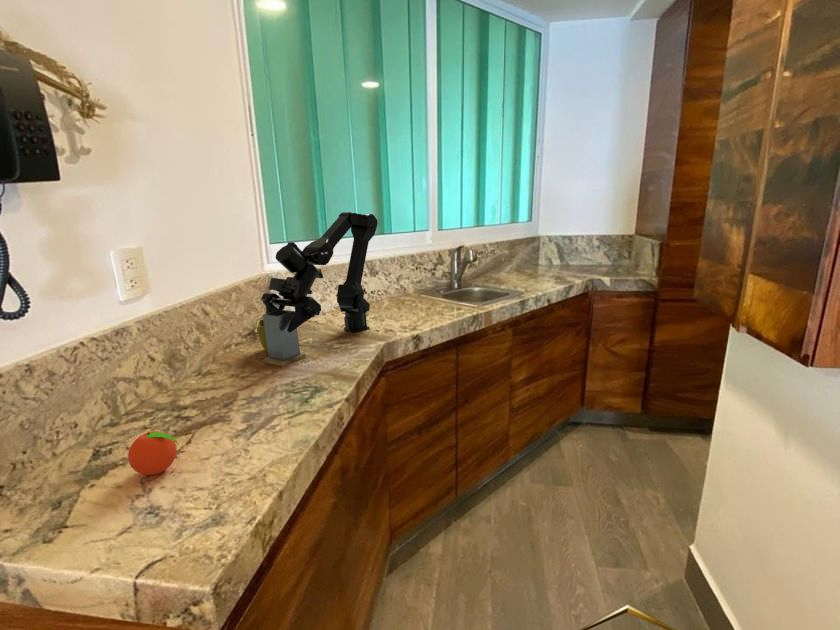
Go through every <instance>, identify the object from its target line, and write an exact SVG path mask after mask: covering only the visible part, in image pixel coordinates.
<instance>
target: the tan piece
mask: <svg viewBox="0 0 840 630" xmlns="http://www.w3.org/2000/svg"><path fill="white" fill-rule="evenodd" d="M306 357H307V355H306V353H304V352H300V355H298V356H295V357H293V358H291V359H288V360H286V361H280V360H275V359H271V358H269V356H268V357H265V358H263V363H265V364H270V365H275V366H279V367H283V368H284V367H286V366H289V365H291V364H293V363H295V362H298V361H300V360H302V359H305V358H306Z"/></svg>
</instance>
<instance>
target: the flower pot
mask: <svg viewBox="0 0 840 630" xmlns="http://www.w3.org/2000/svg"><path fill="white" fill-rule="evenodd" d="M255 328H256V332H257V335H258V338H259V342H260V344H261V346H262V348H263V350H265V352H267V354H268V348H267V341H266V335H265V328H264V321H263V318H262V319H258V320H257V323H256V327H255Z"/></svg>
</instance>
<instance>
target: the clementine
mask: <svg viewBox="0 0 840 630" xmlns="http://www.w3.org/2000/svg"><path fill="white" fill-rule="evenodd" d="M177 445H179V443H178V441H177V440H176V439H175V438H174V437H173V436H171V435H169V434H168V433H166V432H163V431H158V430H152V431H147V432H145V433H142V434H141V435H139V436H138V437H137V438H136V439H135V440H133V442H132V444H131V445H130V447H129V449H128V453H127V460H128V464H129V466H130V467H131V469H133V471H135V472H137V473H138V474H139V475H140V474H141V475H144V476H153V475H158V474H160V473H162V472H164V471H166V470H167V469H169V467H170V466H171V465H172V464H173V462H174V461H175V459H176V456H177V453H178V452H177V451H178V450H177V449H178V448H177Z"/></svg>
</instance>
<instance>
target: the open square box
mask: <svg viewBox="0 0 840 630" xmlns="http://www.w3.org/2000/svg"><path fill="white" fill-rule="evenodd" d="M294 313H295V310H287V309H283V310H276V311H273V312H270V313H266V312H265V313H263V314H262V319H263V321H264V328H265V335H266V341H267V348H268V353H267V355H268V357H269V358H271V359H275V360H280V361H286V360H288V359H291V358H293V357H295V356H298V355H300V353H301V348H300V343H299V342H300V340H299V332H298V327H297V328H296V329H295V330H293V331H292V332H291V333H290V332H288V331H287V330H288V327H289V324H290V322H291V320H292V318H293V316H294Z"/></svg>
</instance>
